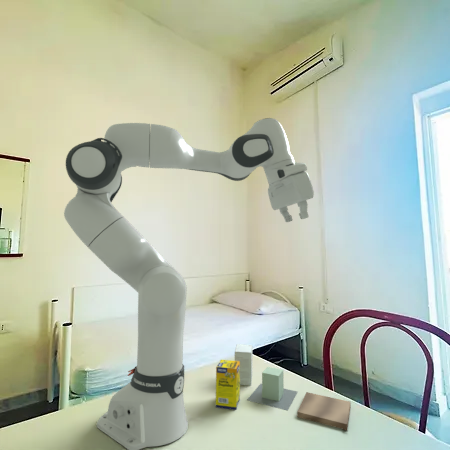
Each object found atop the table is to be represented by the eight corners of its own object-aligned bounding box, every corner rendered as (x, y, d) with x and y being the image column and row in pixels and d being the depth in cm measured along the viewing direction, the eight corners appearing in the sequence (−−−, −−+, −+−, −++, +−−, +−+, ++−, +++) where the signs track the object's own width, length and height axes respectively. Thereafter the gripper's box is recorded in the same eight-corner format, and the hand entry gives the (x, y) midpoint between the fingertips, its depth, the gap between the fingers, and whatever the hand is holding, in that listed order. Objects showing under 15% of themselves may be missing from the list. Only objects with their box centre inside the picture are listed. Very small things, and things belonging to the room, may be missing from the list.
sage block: (262, 397, 86) (262, 372, 87) (267, 390, 91) (267, 366, 92) (278, 401, 84) (278, 375, 85) (283, 393, 89) (283, 369, 89)
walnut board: (297, 417, 76) (297, 411, 77) (306, 397, 87) (306, 392, 87) (347, 430, 71) (347, 424, 71) (350, 407, 82) (350, 401, 82)
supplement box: (236, 410, 80) (237, 368, 81) (215, 408, 81) (215, 366, 82) (240, 399, 85) (240, 360, 86) (219, 397, 87) (220, 359, 88)
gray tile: (246, 400, 85) (246, 399, 85) (260, 384, 96) (260, 383, 96) (287, 411, 80) (287, 410, 80) (297, 392, 90) (297, 391, 90)
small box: (236, 374, 103) (236, 343, 103) (252, 375, 102) (252, 344, 103) (233, 385, 95) (234, 351, 96) (251, 386, 94) (251, 352, 95)
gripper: (259, 184, 94) (272, 226, 94) (287, 167, 74) (304, 219, 74) (276, 179, 96) (289, 220, 96) (309, 161, 76) (325, 212, 76)
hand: (296, 220), depth 85 cm, fingers open, 8 cm apart
